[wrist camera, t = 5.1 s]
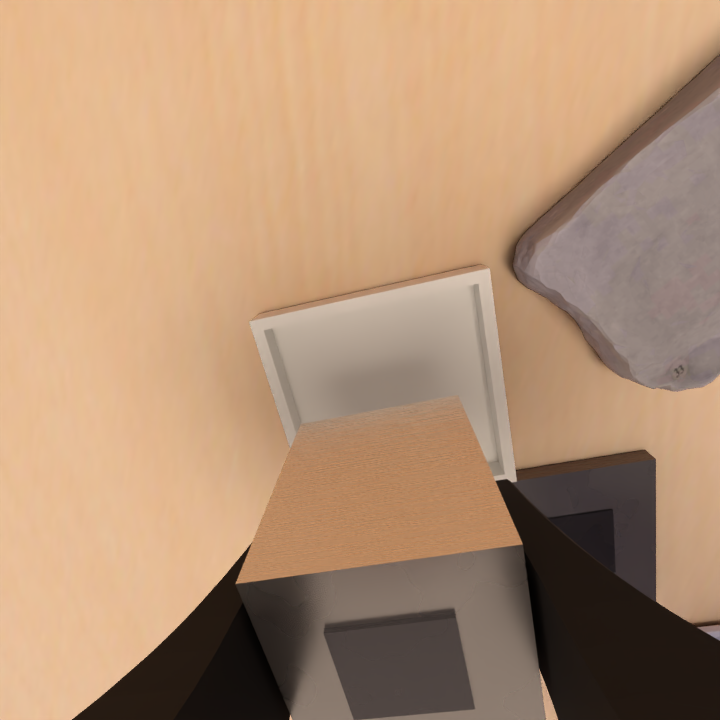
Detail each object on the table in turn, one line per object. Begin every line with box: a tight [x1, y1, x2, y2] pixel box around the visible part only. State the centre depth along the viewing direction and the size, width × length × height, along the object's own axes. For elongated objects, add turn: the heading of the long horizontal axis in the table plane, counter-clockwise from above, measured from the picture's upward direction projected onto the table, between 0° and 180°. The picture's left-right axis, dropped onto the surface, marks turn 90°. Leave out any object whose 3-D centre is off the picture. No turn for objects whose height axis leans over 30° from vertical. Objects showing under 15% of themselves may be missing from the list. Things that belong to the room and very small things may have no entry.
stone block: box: [513, 55, 720, 392], centre depth 15 cm, size 12×5×10 cm
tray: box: [249, 264, 517, 482], centre depth 19 cm, size 10×10×2 cm
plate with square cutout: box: [512, 450, 656, 602], centre depth 22 cm, size 9×18×1 cm, turn 103°
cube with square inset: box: [236, 395, 546, 720], centre depth 10 cm, size 5×5×6 cm
